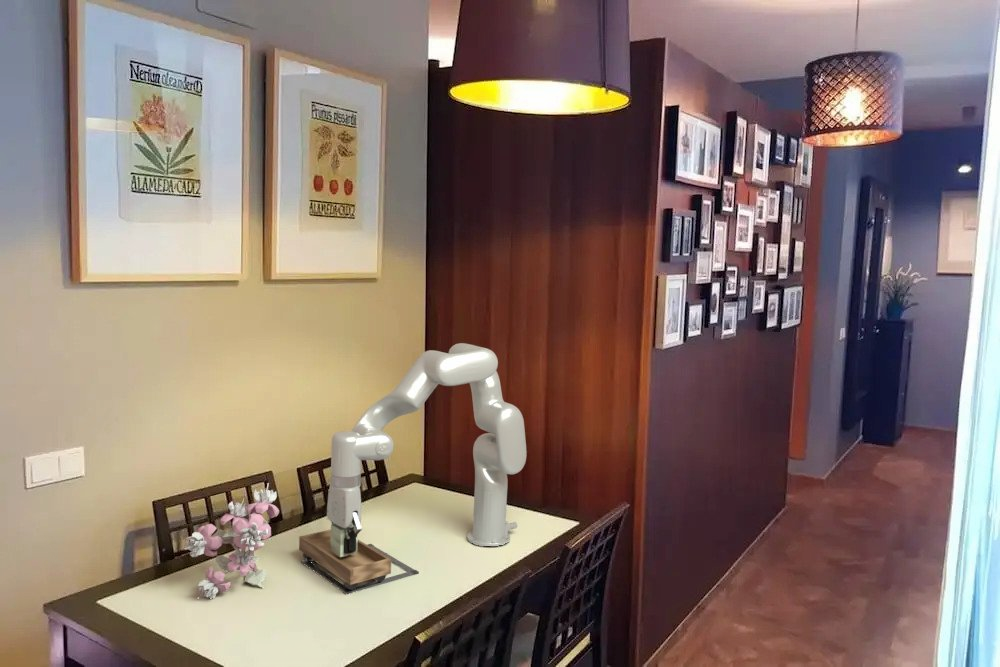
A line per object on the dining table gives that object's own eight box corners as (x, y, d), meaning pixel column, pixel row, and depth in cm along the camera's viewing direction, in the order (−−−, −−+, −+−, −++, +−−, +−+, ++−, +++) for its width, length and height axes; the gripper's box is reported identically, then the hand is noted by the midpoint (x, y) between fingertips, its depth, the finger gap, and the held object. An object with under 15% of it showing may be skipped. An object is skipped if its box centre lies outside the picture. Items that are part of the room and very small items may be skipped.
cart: (337, 548, 214) (338, 527, 213) (390, 582, 194) (391, 559, 193) (298, 558, 206) (299, 536, 206) (350, 594, 186) (350, 570, 186)
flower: (189, 562, 198) (178, 491, 185) (279, 545, 206) (275, 476, 193) (191, 627, 183) (179, 554, 169) (289, 606, 190) (285, 535, 177)
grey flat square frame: (370, 545, 219) (370, 543, 219) (418, 573, 202) (418, 571, 202) (300, 562, 205) (300, 560, 205) (345, 594, 187) (346, 592, 187)
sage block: (347, 546, 203) (348, 520, 202) (357, 552, 199) (358, 526, 199) (330, 550, 200) (330, 524, 199) (340, 557, 196) (340, 530, 195)
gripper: (316, 474, 201) (315, 541, 203) (349, 491, 189) (348, 563, 191) (341, 470, 206) (340, 535, 208) (376, 486, 194) (374, 556, 196)
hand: (344, 548), depth 199 cm, fingers closed on sage block, 4 cm apart
